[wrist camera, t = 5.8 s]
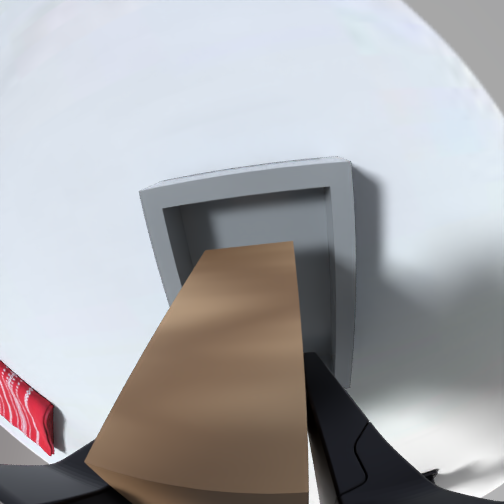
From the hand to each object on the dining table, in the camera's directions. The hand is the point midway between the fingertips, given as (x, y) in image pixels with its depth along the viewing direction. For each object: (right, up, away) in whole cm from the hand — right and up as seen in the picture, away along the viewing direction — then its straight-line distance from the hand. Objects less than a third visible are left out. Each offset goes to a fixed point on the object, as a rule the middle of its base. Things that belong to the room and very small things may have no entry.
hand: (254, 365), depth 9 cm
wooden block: (0, +1, +2) cm, 2 cm away
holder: (0, +2, +5) cm, 6 cm away
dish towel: (-34, -12, +15) cm, 39 cm away
